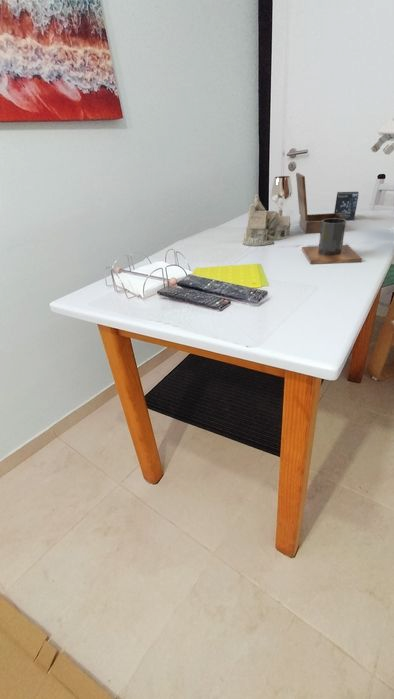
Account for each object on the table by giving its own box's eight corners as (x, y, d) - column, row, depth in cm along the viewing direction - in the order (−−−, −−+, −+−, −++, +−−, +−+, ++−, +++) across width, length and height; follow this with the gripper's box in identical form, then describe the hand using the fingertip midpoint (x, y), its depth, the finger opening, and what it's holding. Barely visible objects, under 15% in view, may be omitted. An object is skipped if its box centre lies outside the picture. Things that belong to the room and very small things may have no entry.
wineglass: (279, 230, 131) (282, 178, 122) (264, 227, 137) (266, 177, 128) (294, 226, 135) (298, 176, 125) (279, 223, 141) (282, 175, 131)
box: (332, 222, 136) (336, 193, 130) (333, 219, 140) (337, 191, 134) (353, 222, 133) (358, 193, 127) (353, 219, 137) (358, 191, 132)
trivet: (347, 247, 106) (347, 244, 106) (361, 262, 95) (362, 258, 94) (301, 250, 108) (301, 246, 107) (310, 264, 96) (310, 260, 96)
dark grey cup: (337, 248, 103) (342, 217, 98) (343, 254, 98) (349, 222, 93) (316, 249, 104) (319, 219, 99) (320, 255, 98) (324, 224, 94)
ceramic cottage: (237, 244, 117) (240, 197, 110) (252, 234, 130) (255, 192, 122) (281, 250, 112) (288, 201, 104) (292, 239, 124) (299, 194, 116)
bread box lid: (298, 172, 122) (295, 173, 122) (304, 176, 111) (302, 176, 111) (301, 213, 129) (299, 214, 129) (307, 220, 119) (305, 221, 119)
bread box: (335, 226, 131) (336, 212, 128) (344, 234, 120) (346, 220, 117) (299, 227, 132) (300, 215, 129) (305, 236, 121) (306, 222, 119)
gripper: (401, 100, 98) (359, 142, 104) (438, 94, 81) (386, 144, 87) (412, 117, 100) (371, 157, 106) (451, 114, 83) (400, 162, 89)
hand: (378, 151), depth 97 cm, fingers open, 8 cm apart
